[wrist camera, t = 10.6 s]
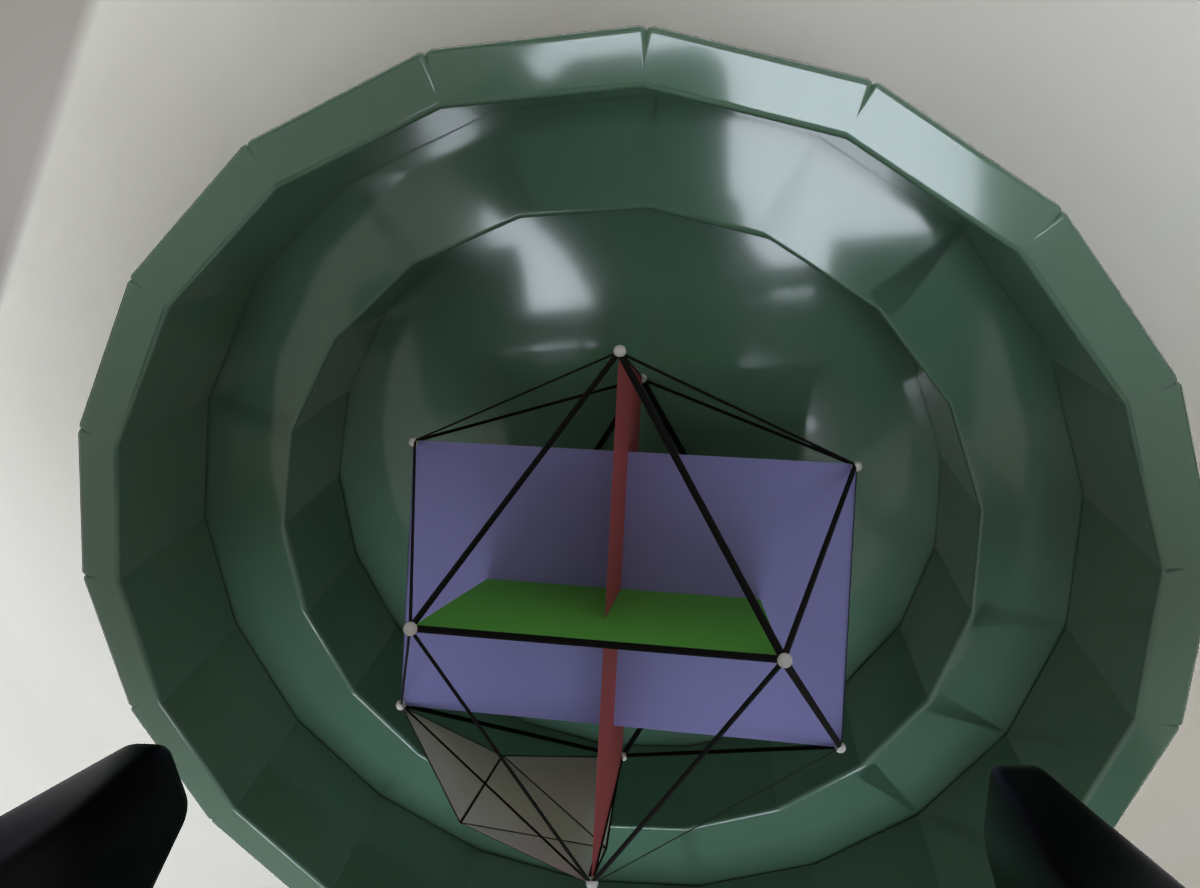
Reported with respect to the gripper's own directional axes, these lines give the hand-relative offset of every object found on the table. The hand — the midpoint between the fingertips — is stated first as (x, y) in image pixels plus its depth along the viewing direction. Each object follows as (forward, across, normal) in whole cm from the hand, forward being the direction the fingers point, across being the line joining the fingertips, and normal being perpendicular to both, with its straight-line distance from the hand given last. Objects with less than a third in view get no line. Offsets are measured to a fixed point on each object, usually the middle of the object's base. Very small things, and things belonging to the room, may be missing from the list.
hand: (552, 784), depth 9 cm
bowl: (+8, 0, 0) cm, 8 cm away
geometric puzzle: (+7, 0, 0) cm, 7 cm away
